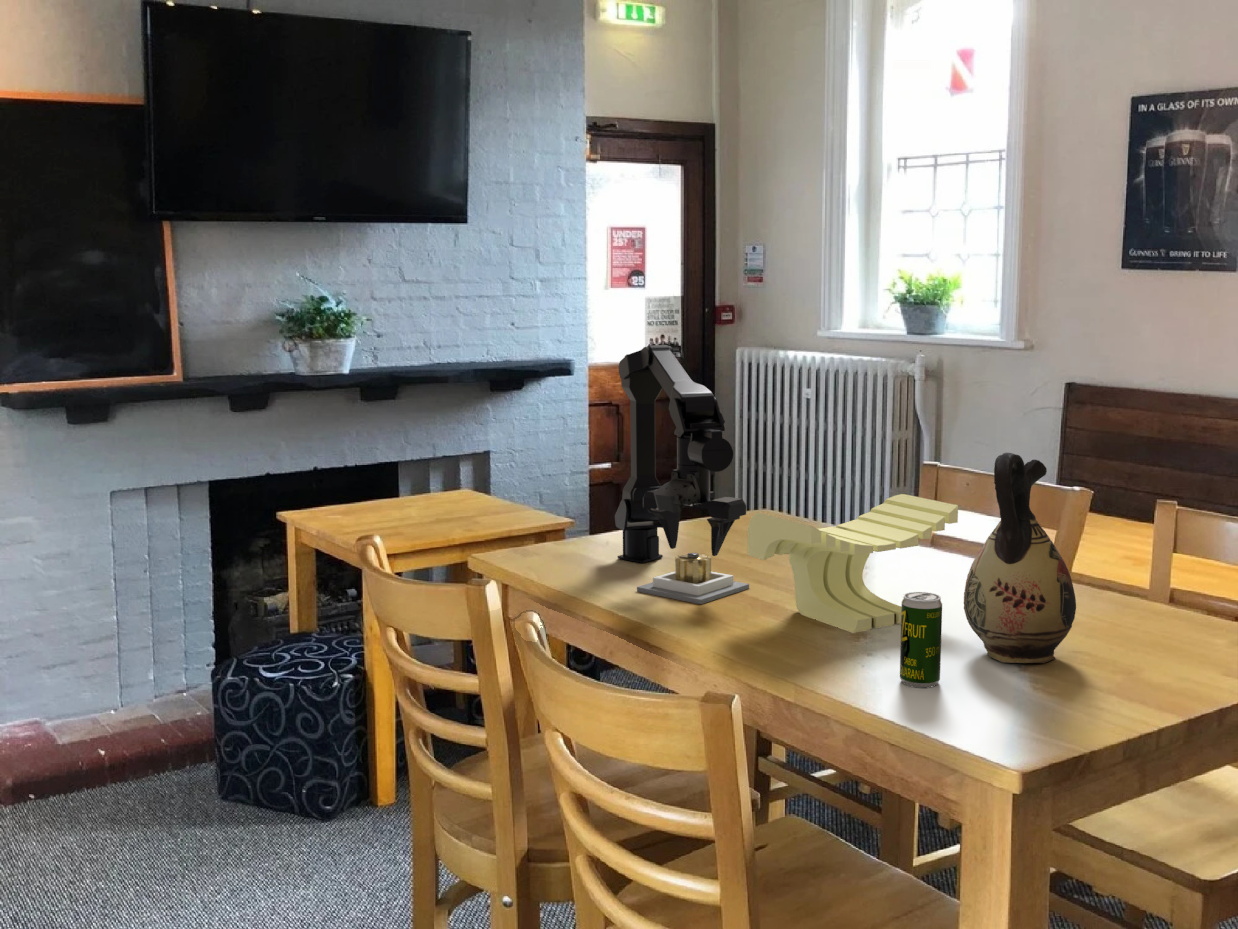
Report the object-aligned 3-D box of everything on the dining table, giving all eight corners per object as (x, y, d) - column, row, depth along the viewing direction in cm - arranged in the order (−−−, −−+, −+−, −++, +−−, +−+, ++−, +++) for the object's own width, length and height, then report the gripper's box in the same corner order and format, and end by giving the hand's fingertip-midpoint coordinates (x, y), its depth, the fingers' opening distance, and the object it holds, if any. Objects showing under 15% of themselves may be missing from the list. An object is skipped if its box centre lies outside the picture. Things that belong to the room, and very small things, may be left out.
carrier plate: (636, 591, 228) (636, 578, 228) (686, 576, 239) (686, 563, 238) (700, 604, 219) (700, 590, 219) (749, 588, 230) (749, 575, 229)
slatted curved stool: (887, 592, 226) (889, 491, 223) (954, 613, 212) (958, 505, 210) (747, 617, 211) (747, 509, 208) (809, 641, 197) (811, 525, 195)
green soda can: (911, 673, 181) (913, 589, 180) (947, 681, 178) (949, 595, 176) (892, 683, 177) (894, 597, 175) (928, 691, 174) (931, 603, 172)
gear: (668, 585, 229) (668, 554, 228) (690, 579, 233) (690, 548, 232) (696, 591, 225) (696, 559, 224) (718, 584, 229) (718, 553, 228)
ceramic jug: (988, 635, 200) (995, 440, 195) (1089, 653, 190) (1098, 449, 186) (938, 661, 187) (944, 454, 182) (1044, 682, 177) (1053, 463, 173)
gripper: (622, 464, 225) (622, 552, 228) (708, 474, 213) (708, 568, 216) (662, 456, 234) (663, 542, 236) (748, 466, 222) (747, 556, 224)
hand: (693, 552), depth 228 cm, fingers open, 9 cm apart
